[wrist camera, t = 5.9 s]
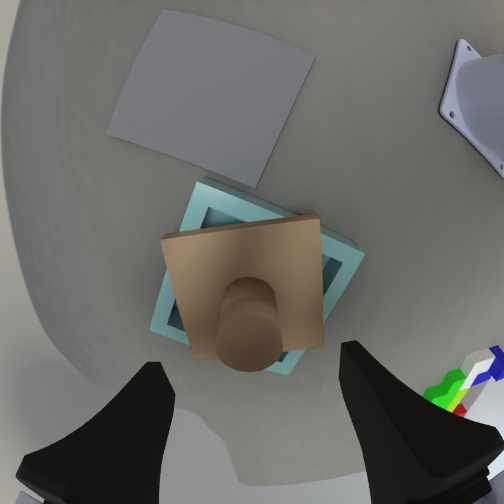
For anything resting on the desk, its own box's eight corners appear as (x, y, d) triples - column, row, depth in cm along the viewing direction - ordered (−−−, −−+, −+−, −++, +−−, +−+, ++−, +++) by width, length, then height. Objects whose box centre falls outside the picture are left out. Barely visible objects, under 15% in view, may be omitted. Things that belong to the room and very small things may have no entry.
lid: (315, 213, 14) (345, 246, 10) (319, 336, 17) (338, 393, 13) (165, 234, 15) (130, 273, 10) (197, 349, 17) (184, 408, 13)
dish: (351, 239, 17) (365, 253, 15) (284, 353, 21) (287, 375, 18) (204, 176, 16) (197, 181, 14) (159, 309, 19) (149, 330, 17)
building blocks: (425, 360, 23) (444, 388, 19) (496, 343, 23) (513, 363, 19) (378, 439, 28) (387, 464, 24) (448, 419, 28) (458, 439, 24)
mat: (314, 57, 13) (316, 55, 13) (255, 187, 16) (255, 188, 16) (164, 11, 12) (163, 9, 11) (108, 134, 15) (105, 134, 14)
